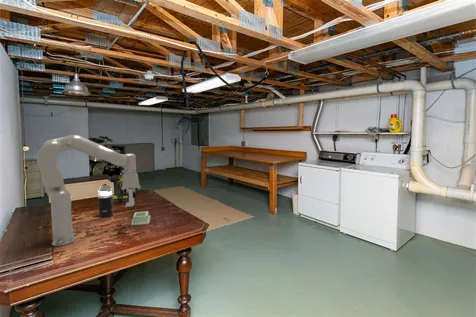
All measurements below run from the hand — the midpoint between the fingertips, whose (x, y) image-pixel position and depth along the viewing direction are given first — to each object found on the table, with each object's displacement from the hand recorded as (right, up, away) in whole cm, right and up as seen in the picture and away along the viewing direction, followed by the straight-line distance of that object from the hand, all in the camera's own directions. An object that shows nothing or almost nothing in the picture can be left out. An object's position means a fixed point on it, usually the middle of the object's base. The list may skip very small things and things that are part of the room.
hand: (131, 197), depth 172 cm
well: (+3, -19, +10) cm, 22 cm away
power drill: (-37, -13, +59) cm, 71 cm away
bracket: (-1, -5, 0) cm, 5 cm away
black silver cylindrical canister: (-29, -17, +21) cm, 39 cm away
